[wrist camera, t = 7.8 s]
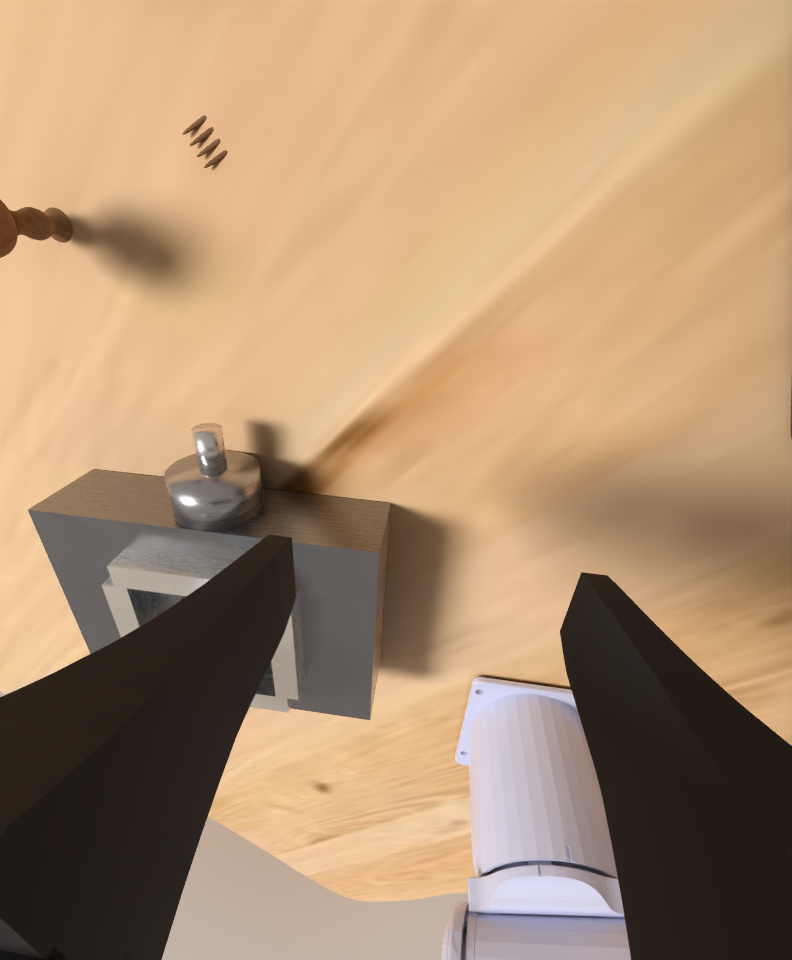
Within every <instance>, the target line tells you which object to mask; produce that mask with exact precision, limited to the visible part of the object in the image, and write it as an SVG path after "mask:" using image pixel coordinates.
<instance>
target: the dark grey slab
mask: <svg viewBox="0 0 792 960" xmlns="http://www.w3.org/2000/svg"><path fill="white" fill-rule="evenodd" d="M791 438H792V390H791Z"/></svg>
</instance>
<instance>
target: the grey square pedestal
mask: <svg viewBox="0 0 792 960" xmlns="http://www.w3.org/2000/svg"><path fill="white" fill-rule="evenodd" d="M192 435H193V440H194V445H195V450H196V454H194V455H191V456H188V457H185V458H183V459H180V460H178V461H177V462H175V463H174V464H172V465H171V466H170V467H169V468H168V469H167V470H166V472H165V477H158V476H149V475H140V474H131V473H123V472H114V471H105V470H96V469H93V470H91V471H90V472H88V473H86V474H85V475H83V476H82V477H80V478H78V479H77V480H75V481H73V482H72V483H70V484H69V485H67V486H65V487H64V488H62V489H61V490H59V491H57V492H56V493H54V494H53V495H51V496H49V497H48V498H46V499H44V500H43V501H41V502H40V503H38V504H36V505H35V506H33V507H32V508H30V509H28V511H29V513H30V516H31V518H32V520H33V523H34V525H35V527H36V530H37V532H38V534H39V536H40V539H41V541H42V543H43V546H44V548H45V550H46V552H47V555H48V557H49V559H50V562H51V564H52V566H53V569H54V571H55V573H56V575H57V578H58V580H59V582H60V585H61V587H62V589H63V591H64V594H65V596H66V598H67V601H68V603H69V605H70V607H71V610H72V612H73V614H74V617H75V619H76V621H77V624H78V626H79V628H80V630H81V633H82V635H83V637H84V640H85V642H86V644H87V646H88V649H89V651H90V653H91V654H92V653H94V652H96V651H97V650H99V649H101V648H103V647H105V646H107V645H109V644H111V643H113V642H114V641H116V640H118V639H120V638H121V637H123V636H125V635H126V634H128V633H130V632H132V631H133V630H135V629H137V628H138V627H140V626H142V625H144V624H145V623H147V622H148V621H150V620H152V619H153V618H155V617H156V616H158V615H160V614H161V613H163V612H164V611H166V610H167V609H169V608H170V607H172V606H173V605H175V604H176V603H177V602H179V601H180V600H182V599H183V598H185V597H186V596H188V595H189V594H191V593H192V592H193V591H195V590H196V589H198V588H199V587H201V586H202V585H203V584H205V583H206V582H207V581H209V580H210V579H211V578H213V577H214V576H215V575H217V574H218V573H219V572H221V571H222V570H223V569H225V568H226V567H227V566H229V565H230V564H231V563H232V562H234V561H235V560H236V559H238V558H239V557H240V556H241V555H243V554H244V553H245V552H247V551H248V550H249V549H250V548H252V547H253V546H254V545H256V544H257V543H258V542H260V541H261V540H262V539H263V538H265V537H266V536H267V535H277V536H285V537H292V546H293V559H294V573H295V587H296V599H295V602H294V605H293V609H292V612H291V615H290V618H289V621H288V624H287V627H286V630H285V632H284V635H283V637H282V639H281V641H280V644H279V646H278V648H277V650H276V652H275V654H274V656H273V659H272V661H271V663H270V665H269V667H268V669H267V671H266V673H265V675H264V678H263V680H262V682H261V684H260V686H259V688H258V690H257V692H256V694H255V696H254V699H253V701H252V703H251V705H250V707H255V708H262V709H269V710H275V711H282V712H288V713H289V710H290V708H293V709H299V710H306V711H313V712H319V713H326V714H333V715H339V716H346V717H353V718H359V719H366V720H370V717H371V711H372V705H373V700H374V694H375V688H376V682H377V676H378V670H379V664H380V657H381V642H382V627H383V612H384V596H385V581H386V566H387V551H388V536H389V521H390V506H391V503H386V502H377V501H369V500H360V499H351V498H342V497H333V496H325V495H316V494H307V493H298V492H290V491H281V490H272V489H263V488H262V483H261V474H260V465H259V462H258V461H257V459H256V458H254V457H253V456H251V455H249V454H246V453H243V452H238V451H228V450H225V446H224V439H223V432H222V427H221V426H220V425H218V424H214V423H206V424H200V425H197V426H195V427H193V428H192Z"/></svg>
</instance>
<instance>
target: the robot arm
mask: <svg viewBox="0 0 792 960" xmlns="http://www.w3.org/2000/svg"><path fill="white" fill-rule="evenodd" d="M295 599H296V587H295V573H294V559H293V546H292V537H285V536H277V535H267V536H266V537H265V538H263V539H262V540H261V541H260V542H258V543H257V544H256V545H254V546H253V547H252V548H250V549H249V550H248V551H247V552H245V553H244V554H243V555H241V556H240V557H239V558H238V559H236V560H235V561H234V562H232V563H231V564H230V565H229V566H227V567H226V568H225V569H223V570H222V571H221V572H219V573H218V574H217V575H215V576H214V577H213V578H211V579H210V580H209V581H207V582H206V583H205V584H203V585H202V586H201V587H199V588H198V589H196V590H195V591H193V592H192V593H191V594H189V595H188V596H186V597H185V598H183V599H182V600H180V601H179V602H177V603H176V604H175V605H173V606H172V607H170V608H169V609H167V610H166V611H164V612H163V613H161V614H160V615H158V616H156V617H155V618H153V619H152V620H150V621H148V622H147V623H145V624H144V625H142V626H140V627H138V628H137V629H135V630H133V631H132V632H130V633H128V634H126V635H125V636H123V637H121V638H120V639H118V640H116V641H114V642H113V643H111V644H109V645H107V646H105V647H103V648H101V649H99V650H97V651H96V652H94V653H92V654H90V655H88V656H86V657H84V658H82V659H80V660H78V661H76V662H74V663H72V664H70V665H68V666H66V667H64V668H63V669H61V670H59V671H57V672H55V673H53V674H51V675H48V676H46V677H44V678H42V679H40V680H38V681H36V682H33V683H31V684H29V685H27V686H25V687H23V688H20V689H18V690H16V691H14V692H11V693H9V694H7V695H5V696H2V697H0V960H161V959H162V956H163V953H164V949H165V946H166V943H167V940H168V936H169V933H170V930H171V927H172V924H173V920H174V917H175V914H176V911H177V907H178V904H179V901H180V898H181V894H182V891H183V888H184V885H185V882H186V879H187V876H188V873H189V870H190V867H191V864H192V861H193V858H194V855H195V852H196V849H197V846H198V843H199V840H200V836H201V834H202V831H203V828H204V825H205V822H206V819H207V816H208V813H209V811H210V808H211V805H212V802H213V799H214V796H215V793H216V791H217V788H218V785H219V782H220V779H221V777H222V774H223V771H224V768H225V766H226V763H227V760H228V758H229V755H230V752H231V749H232V747H233V744H234V741H235V739H236V736H237V734H238V732H239V729H240V727H241V725H242V722H243V720H244V718H245V715H246V713H247V711H248V709H249V707H250V705H251V703H252V701H253V699H254V696H255V694H256V692H257V690H258V688H259V686H260V684H261V682H262V680H263V678H264V675H265V673H266V671H267V669H268V667H269V665H270V663H271V661H272V659H273V656H274V654H275V652H276V650H277V648H278V646H279V644H280V641H281V639H282V637H283V635H284V632H285V630H286V627H287V624H288V621H289V618H290V615H291V612H292V609H293V605H294V602H295ZM560 635H561V641H562V648H563V655H564V660H565V666H566V672H567V676H568V679H569V683H570V686H571V690H570V689H563V688H556V687H548V686H541V685H534V684H527V683H520V682H513V681H506V680H498V679H491V678H484V677H477V678H475V679H474V680H473V682H472V686H471V690H470V694H469V698H468V703H467V707H466V711H465V715H464V720H463V724H462V728H461V732H460V737H459V741H458V745H457V749H456V753H455V761H456V762H457V763H459V764H462V765H469V780H470V809H471V838H472V858H473V866H474V870H475V874H476V877H473V878H468V902H460V903H458V904H457V906H456V907H455V909H454V912H453V914H452V916H451V918H450V919H449V921H448V923H447V926H446V929H445V934H444V940H443V948H442V960H792V746H791V745H790V744H788V743H787V742H786V741H785V740H783V739H782V738H781V737H780V736H779V735H777V734H776V733H775V732H774V731H772V730H771V729H770V728H769V727H768V726H766V725H765V724H764V723H763V722H761V721H760V720H759V719H758V718H757V717H755V716H754V715H753V714H752V713H750V712H749V711H748V710H747V709H746V708H744V707H743V706H742V705H741V704H740V703H739V702H737V701H736V700H735V699H734V698H733V697H732V696H730V695H729V694H728V693H727V692H726V691H725V690H724V689H723V688H722V687H720V686H719V685H718V684H717V683H716V682H715V681H714V680H713V679H712V678H711V677H709V676H708V675H707V674H706V673H705V672H704V671H703V670H702V669H701V668H700V667H699V666H697V665H696V664H695V663H694V662H693V661H692V660H691V659H690V658H689V657H688V656H687V655H686V654H685V653H684V652H683V651H682V650H681V649H680V648H679V647H678V646H677V645H676V644H675V643H674V642H673V641H672V640H671V639H670V638H669V637H668V636H667V635H666V634H665V633H664V632H663V631H662V630H661V629H660V628H659V627H658V626H657V625H656V624H655V623H654V622H653V621H652V620H651V619H650V618H649V617H648V616H647V615H646V614H645V613H644V612H643V611H642V610H641V609H640V608H639V607H638V606H637V605H636V604H635V603H634V602H633V601H632V600H631V599H630V598H629V597H628V596H627V595H626V594H625V593H624V592H623V591H622V589H621V588H620V587H619V586H618V585H617V584H616V583H615V582H613V581H612V580H611V579H610V578H609V577H608V576H606V575H598V574H590V573H582V572H581V575H580V578H579V581H578V583H577V586H576V589H575V592H574V594H573V597H572V600H571V603H570V605H569V608H568V611H567V614H566V616H565V619H564V622H563V625H562V627H561V630H560Z"/></svg>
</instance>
